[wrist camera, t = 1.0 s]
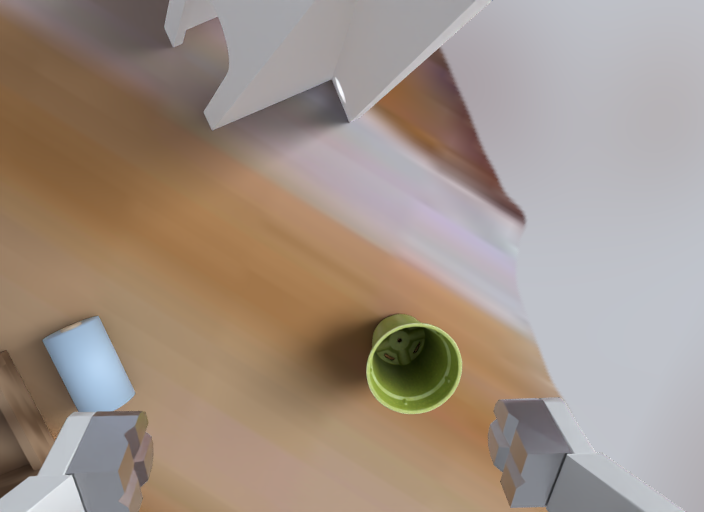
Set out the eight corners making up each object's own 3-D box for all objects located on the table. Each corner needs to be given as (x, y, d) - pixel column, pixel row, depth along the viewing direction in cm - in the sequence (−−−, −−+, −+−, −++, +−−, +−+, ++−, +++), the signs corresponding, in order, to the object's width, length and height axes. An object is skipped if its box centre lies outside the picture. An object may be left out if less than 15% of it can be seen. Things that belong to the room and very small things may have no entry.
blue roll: (142, 386, 55) (125, 409, 50) (96, 403, 55) (73, 428, 50) (106, 309, 54) (84, 325, 48) (57, 327, 53) (30, 344, 48)
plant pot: (416, 390, 59) (435, 428, 50) (343, 359, 57) (350, 393, 49) (452, 319, 57) (478, 346, 49) (379, 286, 56) (393, 307, 47)
